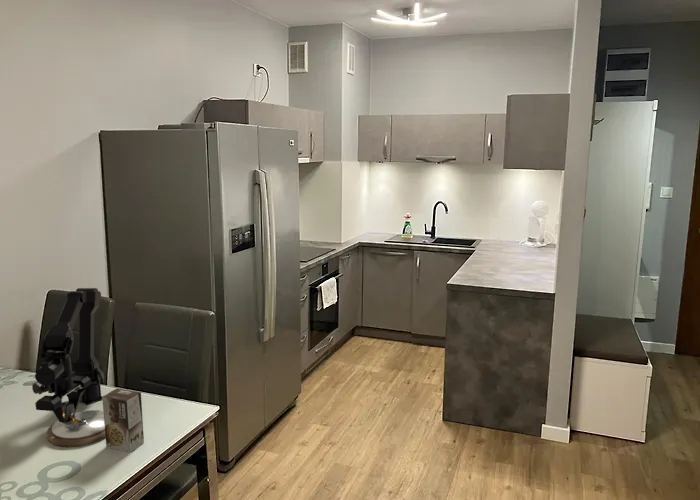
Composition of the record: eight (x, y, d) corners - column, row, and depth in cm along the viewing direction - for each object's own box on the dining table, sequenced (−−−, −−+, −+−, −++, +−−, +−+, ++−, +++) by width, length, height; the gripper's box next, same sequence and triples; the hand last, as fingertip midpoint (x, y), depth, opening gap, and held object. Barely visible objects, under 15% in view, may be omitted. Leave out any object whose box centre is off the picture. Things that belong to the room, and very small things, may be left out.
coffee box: (145, 442, 168) (142, 391, 165) (130, 453, 162) (127, 400, 159) (120, 437, 171) (117, 387, 168) (104, 447, 165) (101, 395, 162)
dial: (124, 419, 179) (123, 402, 178) (79, 444, 163) (77, 425, 162) (86, 409, 186) (84, 392, 185) (39, 432, 170) (37, 413, 169)
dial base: (96, 409, 189) (96, 405, 188) (130, 427, 177) (130, 422, 177) (34, 433, 173) (34, 428, 172) (68, 454, 161) (67, 449, 161)
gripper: (58, 358, 183) (64, 402, 187) (15, 382, 165) (23, 431, 169) (89, 359, 181) (94, 404, 185) (49, 385, 163) (56, 433, 167)
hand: (67, 417), depth 176 cm, fingers open, 5 cm apart
